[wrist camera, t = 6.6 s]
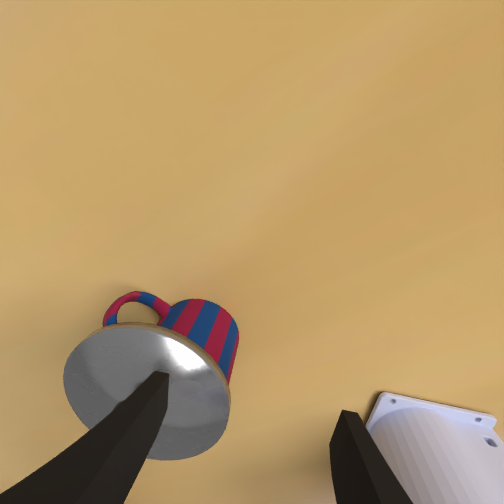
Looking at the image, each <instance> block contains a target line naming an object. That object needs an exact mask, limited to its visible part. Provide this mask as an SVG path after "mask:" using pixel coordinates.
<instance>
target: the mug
mask: <svg viewBox="0 0 504 504" xmlns="http://www.w3.org/2000/svg"><path fill="white" fill-rule="evenodd" d="M127 302H140V303H143V304H145V305H148V306H149V307H151V308H153V309H154V310H155V311H157V312H158V313H159V315H160V316H161V317H162V318H161V320H160V321H159V322H158V324H157V326H161V327H165V328H167V329H170V330H173V331H175V332H177V333H179V334H181V335H183V336H185V337H187V338H188V339H190V340H192V341H193V342H195V343H196V344H197V345H199V346H200V347H201V348H202V349H204V350H205V351H206V352H207V353H208V354H209V355H210V356H211V357H212V358H213V359H214V361H215V362H216V363H217V365H218V366H219V367H220V369H221V371H222V372H223V374H224V376H225V378H226V381H227V383H228V386H229V382H230V377H231V373H232V369H233V364H234V360H235V356H236V352H237V347H238V343H239V331H238V328H237V325H236V323H235V321H234V319H233V318H232V317H231V315H230V314H229V313H228V312H227V311H226V310H225V309H223V308H222V307H220V306H219V305H217V304H215V303H213V302H210V301H206V300H201V299H189V300H184V301H181V302H178V303H177V304H175V305H173V306H172V307H171V306H170V305H169V304H167V303H166V302H164V301H163V300H161V299H159V298H158V297H156V296H154V295H152V294H149V293H146V292H139V291H134V292H131V293H128V294H126V295H124V296H122V297H120V298H118V299H117V300H116V301H115V302H114V303H113V304H112V305H111V306H110V307H109V309H108V310H107V311H106V314H105V316H104V319H103V327H106V326H108V325H113V324H117V313H118V311H119V309H120V307H121V306H122V305H123V304H124V303H127Z"/></svg>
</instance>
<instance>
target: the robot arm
mask: <svg viewBox="0 0 504 504" xmlns="http://www.w3.org/2000/svg"><path fill="white" fill-rule="evenodd" d="M168 391H169V373H165V372H160V371H154V372H152V373H151V374H150V376H149V377H148V378H147V379H146V380H145V381H144V382H143V383H142V384H141V385H140V386H139V387H138V388H137V389H136V390H134V391H133V392H132V393H131V394H130V395H129V396H128V397H127V398H126V399H125V400H124V401H123V402H122V403H121V404H119V405H118V406H117V407H116V408H115V409H114V410H113V411H112V412H111V413H110V414H108V415H107V416H106V417H105V418H104V419H103V420H101V421H100V422H99V423H98V424H97V425H95V426H94V427H93V428H92V429H91V430H89V431H88V432H87V433H86V434H85V435H83V436H82V437H81V438H80V439H78V440H77V441H76V442H75V443H73V444H72V445H71V446H69V447H68V448H67V449H65V450H64V451H63V452H61V453H60V454H59V455H57V456H56V457H55V458H53V459H52V460H50V461H49V462H48V463H46V464H45V465H43V466H42V467H40V468H39V469H38V470H36V471H35V472H33V473H32V474H30V475H29V476H27V477H26V478H24V479H23V480H21V481H20V482H18V483H17V484H15V485H14V486H12V487H11V488H9V489H8V490H6V491H4V492H3V493H1V494H0V504H123V503H124V501H125V499H126V497H127V495H128V493H129V491H130V489H131V487H132V485H133V483H134V481H135V479H136V477H137V475H138V473H139V471H140V469H141V467H142V465H143V463H144V461H145V459H146V457H147V455H148V453H149V451H150V449H151V447H152V445H153V443H154V441H155V439H156V437H157V435H158V432H159V430H160V427H161V425H162V422H163V420H164V417H165V414H166V412H167V409H168ZM391 399H392V400H391ZM496 422H497V420H496V419H495V418H494V416H493V415H490V414H486V413H481V412H476V411H472V410H467V409H462V408H458V407H453V406H448V405H444V404H439V403H434V402H430V401H425V400H421V399H416V398H411V397H407V396H402V395H397V394H393V393H388V392H383V393H381V394H380V395H379V397H378V399H377V402H376V404H375V406H374V408H373V410H372V413H371V415H370V417H369V419H368V421H367V423H366V426H365V425H364V423H363V421H362V419H361V418H360V416H359V415H358V413H356V412H351V411H346V410H342V412H341V414H340V417H339V420H338V422H337V425H336V428H335V430H334V433H333V436H332V438H331V441H330V444H329V447H330V461H331V472H332V480H333V485H334V491H335V497H336V502H337V504H504V443H503V442H502V440H501V439H500V438H499V436H498V435H497V434H496V433H495V431H494V430H493V427H494V426H495V424H496Z"/></svg>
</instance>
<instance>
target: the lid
mask: <svg viewBox="0 0 504 504" xmlns="http://www.w3.org/2000/svg"><path fill="white" fill-rule="evenodd" d="M154 371H160V372H165V373H169V391H168V409H167V412H166V414H165V417H164V420H163V422H162V425H161V427H160V430H159V432H158V435H157V437H156V439H155V441H154V443H153V445H152V447H151V449H150V451H149V453H148V455H147V457H146V458H148V459H155V460H180V459H185V458H190V457H193V456H196V455H199V454H201V453H203V452H205V451H206V450H208V449H209V448H211V447H212V446H213V445H214V444H215V443H216V442H217V441H218V440H219V439H220V437H221V436H222V435H223V433H224V431H225V429H226V425H227V422H228V418H229V413H230V406H231V396H230V390H229V386H228V383H227V381H226V378H225V376H224V374H223V372H222V371H221V369H220V367H219V366H218V365H217V363H216V362H215V361H214V359H213V358H212V357H211V356H210V355H209V354H208V353H207V352H206V351H205V350H204V349H202V348H201V347H200V346H199V345H197V344H196V343H195V342H193V341H192V340H190V339H188V338H187V337H185V336H183V335H181V334H179V333H177V332H175V331H173V330H170V329H167V328H165V327H161V326H157V325H154V324H147V323H140V322H126V323H117V324H113V325H108V326H106V327H103V328H100V329H99V330H97V331H95V332H93V333H92V334H90V335H89V336H88V337H87V338H86V339H84V340H83V341H82V342H81V343H80V344H79V345H78V346H77V347H76V348H75V349H74V350H73V352H72V353H71V354H70V356H69V358H68V360H67V362H66V365H65V368H64V375H63V377H64V388H65V393H66V396H67V398H68V401H69V403H70V405H71V407H72V409H73V410H74V412H75V413H76V415H77V416H78V418H79V419H80V420H81V421H82V422H83V424H84V425H85V426H86V427H88V428H89V429H90V430H91V429H92V428H93V427H94V426H95V425H97V424H98V423H99V422H100V421H101V420H103V419H104V418H105V417H106V416H107V415H108V414H110V413H111V412H112V411H113V410H114V409H115V408H116V407H117V406H118V405H119V404H121V403H122V402H123V401H124V400H125V399H126V398H127V397H128V396H129V395H130V394H131V393H132V392H133V391H134V390H136V389H137V388H138V387H139V386H140V385H141V384H142V383H143V382H144V381H145V380H146V379H147V378H148V377H149V376H150V374H151V373H152V372H154Z"/></svg>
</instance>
